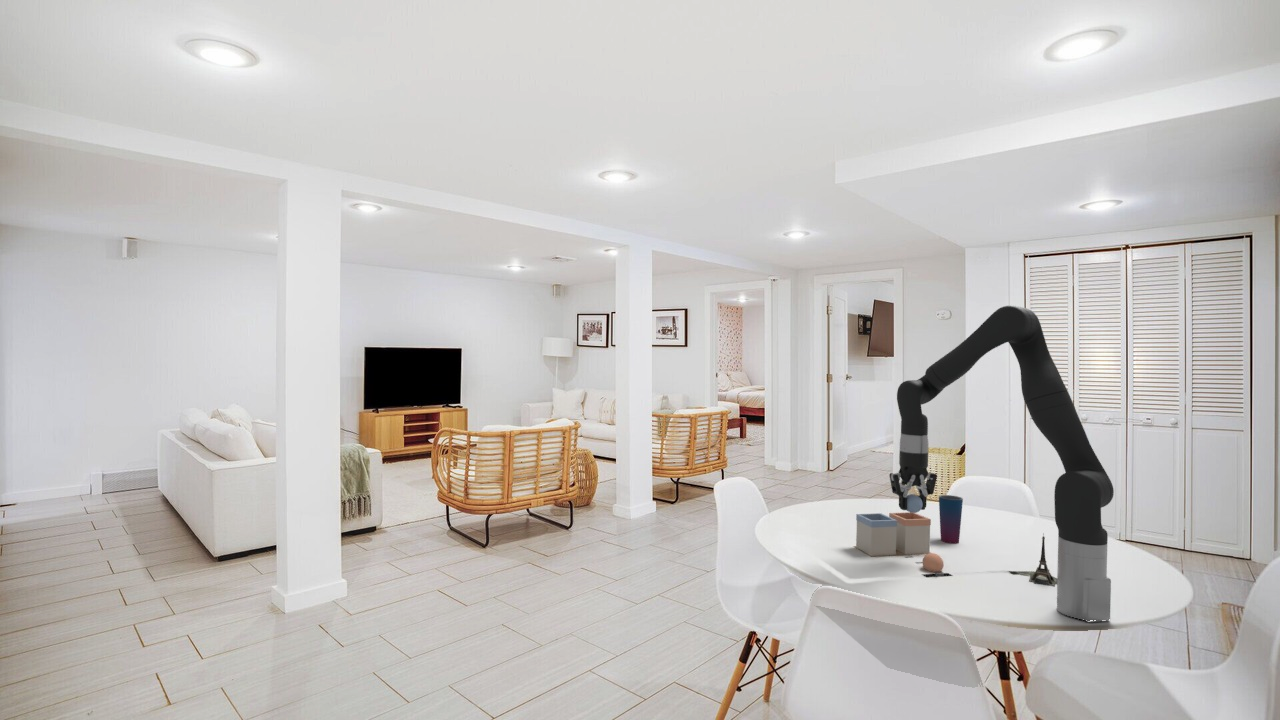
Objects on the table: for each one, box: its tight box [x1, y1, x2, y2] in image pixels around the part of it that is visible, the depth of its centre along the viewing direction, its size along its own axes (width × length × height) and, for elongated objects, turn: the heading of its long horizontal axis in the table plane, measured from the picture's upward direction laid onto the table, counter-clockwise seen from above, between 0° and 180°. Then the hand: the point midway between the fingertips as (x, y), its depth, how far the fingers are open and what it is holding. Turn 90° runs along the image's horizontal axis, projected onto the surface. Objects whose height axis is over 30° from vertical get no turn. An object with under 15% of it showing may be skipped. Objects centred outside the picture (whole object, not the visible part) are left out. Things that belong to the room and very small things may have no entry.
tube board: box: [852, 545, 929, 558], centre depth 184 cm, size 10×20×1 cm, turn 101°
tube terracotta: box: [888, 511, 932, 554], centre depth 185 cm, size 8×8×10 cm
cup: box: [938, 494, 964, 544], centre depth 194 cm, size 7×7×15 cm
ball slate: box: [906, 493, 923, 513], centre depth 176 cm, size 5×5×5 cm
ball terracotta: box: [922, 552, 945, 573], centre depth 167 cm, size 5×5×5 cm
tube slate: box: [855, 512, 897, 556], centre depth 183 cm, size 8×8×10 cm
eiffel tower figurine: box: [1008, 532, 1057, 588], centre depth 163 cm, size 15×10×13 cm
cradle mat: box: [905, 555, 954, 578], centre depth 171 cm, size 14×8×1 cm, turn 11°
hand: (912, 509), depth 176 cm, fingers closed on ball slate, 5 cm apart
